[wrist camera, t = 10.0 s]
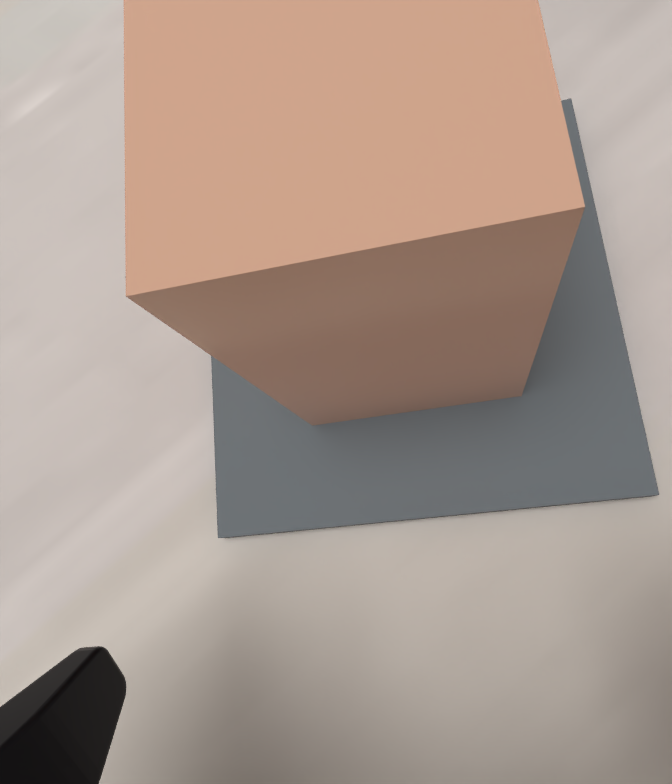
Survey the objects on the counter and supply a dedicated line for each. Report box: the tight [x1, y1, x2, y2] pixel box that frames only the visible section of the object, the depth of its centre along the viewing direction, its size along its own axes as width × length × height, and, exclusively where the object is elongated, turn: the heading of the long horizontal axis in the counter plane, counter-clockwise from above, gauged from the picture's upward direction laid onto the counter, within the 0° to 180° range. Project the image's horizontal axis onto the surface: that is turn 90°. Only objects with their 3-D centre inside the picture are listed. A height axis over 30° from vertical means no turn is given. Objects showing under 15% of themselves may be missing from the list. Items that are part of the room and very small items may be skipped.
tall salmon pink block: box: [124, 0, 585, 426], centre depth 13 cm, size 6×6×10 cm
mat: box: [211, 99, 659, 538], centre depth 18 cm, size 12×12×1 cm
